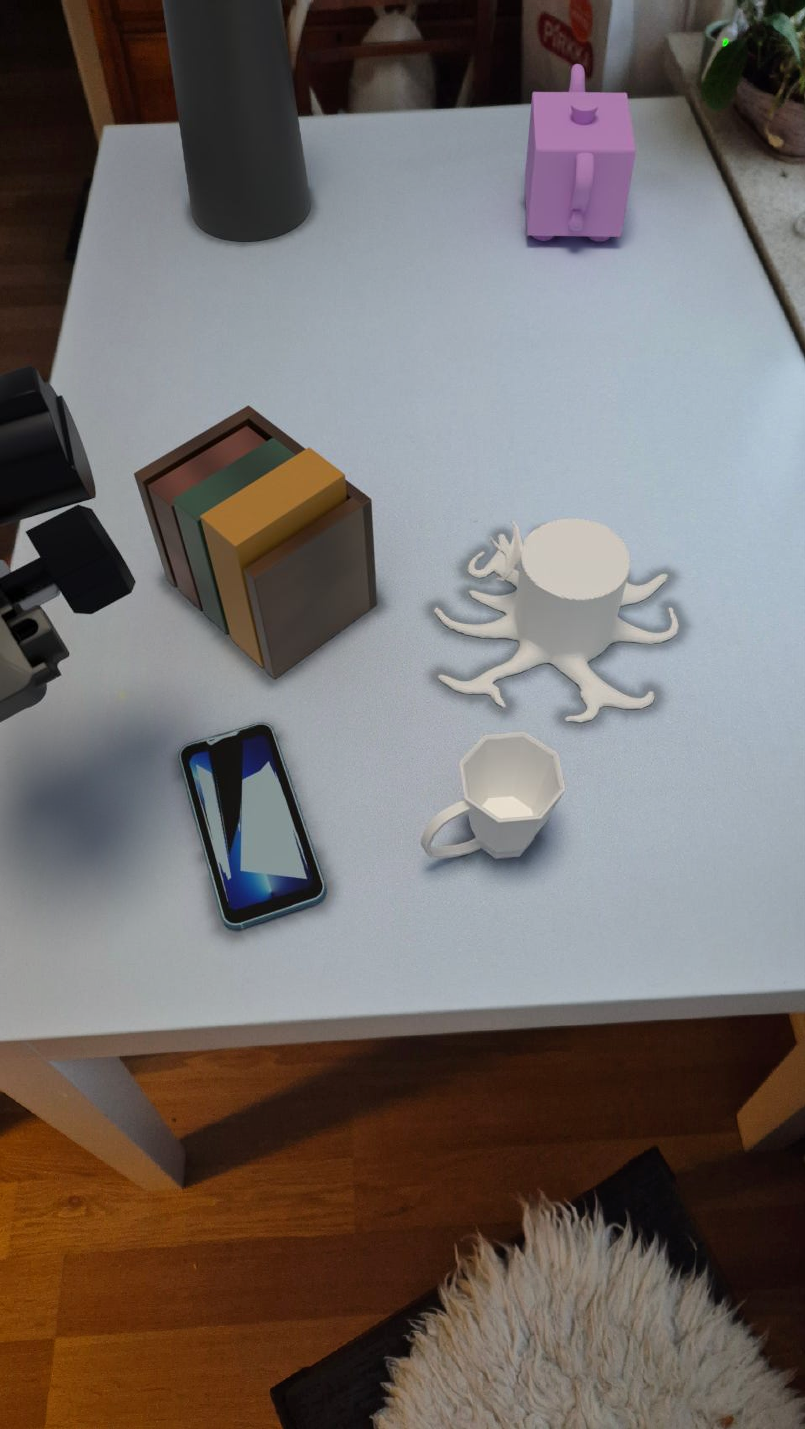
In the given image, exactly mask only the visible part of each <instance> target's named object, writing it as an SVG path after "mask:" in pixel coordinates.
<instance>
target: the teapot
mask: <svg viewBox="0 0 805 1429" xmlns="http://www.w3.org/2000/svg"><path fill="white" fill-rule="evenodd" d="M585 74H586V72H585V68H584V66H583V65H582V64H580V63H575V64H573V65H572V67H571V71H570V82H569V89H568V91H532V93H531V104H530V114H529V125H528V137H527V138H528V139H527V148H526V160H525V171H524V188H525V191H524V193H525V215H526V235H527V236H532V237H533V238H534V239H535V240H537V241H543V242H546V241H550V240H552V239H554V237H588V239H589V240H591V241H594V242H597V243H598V242H605V241H608V240H609V239H610V238H611V237H612V238H613V237H614V238H621V237H622V234H623V227H624V221H625V217H626V211H627V204H628V198H629V193H630V188H631V182H632V176H633V170H634V166H635V159H636V154H637V150H636V144H635V137H634V130H633V122H632V117H631V111H630V104H629V99H628V93H627V92H598V91H597V92H595V91H594V92H592V91H586V75H585Z"/></svg>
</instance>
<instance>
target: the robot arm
mask: <svg viewBox="0 0 805 1429" xmlns="http://www.w3.org/2000/svg"><path fill="white" fill-rule="evenodd" d="M91 468H92V467H91V465H90V461H89V458H88V454H87V452H86V449H85V446H84V443H83V441H82V438H81V436H80V432H79V429H78V427H77V425H76V422H75V420H74V417H73V416H72V413H71V411H70V409H69V406H68V404H67V403H66V400H65V398H64V396H63V395H62V394H61V395H58V394H57V392H56V391H55V389H54V387H53V386H52V385H51V383H50V382H48V381H45V382H44V380H43V378H42V376H41V374H40V372H39V370H38V369H37V367H35V366H33V365H28V366H23V367H19V368H16V369H13V370H10V371H7V372H4V373H2V374H1V375H0V527H2V526H6V525H8V524H12V523H16V522H20V521H22V520H25V519H29V518H33V517H36V516H39V515H42V514H46V513H49V512H52V511H57V510H60V509H63V508H66V507H69V506H70V507H71V506H72V505H74V506H72V507H71V508H68V509H66V510H64V511H63V512H61V513H58V514H57V515H55V516H52V517H50V518H49V519H47V520H45V521H43V522H41V523H39V524H38V525H36V526H33V527H31V528H30V529H29V528H28V530H25V534H26V536H27V537H28V539H29V541H30V542H31V544H32V546H33V547H34V549H35V551H36V553H37V554H38V556H39V557H38V558H36V559H33V560H32V561H30V562H28V563H26V564H23V565H22V566H20V567H18V568H16V569H14V570H13V571H11V569H10V568H9V567H10V566H8V563H6V561H5V560H3V559H0V723H3V722H4V721H6V720H8V719H9V718H11V717H13V716H15V715H16V714H19V713H20V712H23V711H24V710H26V709H29V708H31V707H34V706H35V705H38V704H39V703H40V702H41V701H42V700H43V699H44V698H45V696H46V694H47V691H48V684H49V683H50V682H52V681H54V680H56V679H57V678H59V677H61V676H62V673H61V671H60V669H59V663H60V662H62V661H64V660H66V659H68V658H69V657H70V655H71V652H70V651H69V649H68V647H67V645H66V643H65V642H64V641H63V639H62V637H61V635H60V634H59V632H58V631H57V629H56V627H55V626H54V624H53V622H52V620H51V619H50V617H49V616H48V615H47V612H46V611H45V610H44V609H43V607H42V605H44V604H46V603H48V602H50V601H51V600H54V599H55V598H57V597H59V596H60V595H62V596H63V598H64V600H65V602H66V603H67V605H68V606H69V607H70V609H71V610H72V612H73V614H77V615H78V614H80V615H93V614H95V613H97V612H99V611H101V610H102V609H104V608H106V607H108V606H110V605H111V604H113V603H115V602H117V601H119V600H121V599H123V598H125V597H127V596H128V595H130V594H132V592H133V590H134V587H135V586H136V583H137V581H136V579H135V577H134V575H133V573H132V571H131V570H130V568H129V565H128V564H127V562H126V561H125V559H124V558H123V555H122V553H121V552H120V550H119V549H118V547H117V546H116V544H115V542H114V541H113V539H112V537H111V536H110V535H109V534H108V532H107V530H106V529H105V527H104V525H103V524H102V522H101V521H100V519H99V518H98V516H97V515H96V512H95V511H94V510H93V509H92V507H91V508H90V507H87V506H84V505H81V504H80V503H84V502H86V501H90V500H93V499H96V498H97V497H96V496H97V490H96V483H95V479H94V476H93V475H94V474H93V472H92V469H91Z"/></svg>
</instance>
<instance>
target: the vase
mask: <svg viewBox="0 0 805 1429" xmlns="http://www.w3.org/2000/svg"><path fill="white" fill-rule="evenodd" d="M161 1H162V2H161V3H162V8H163V15H164V16H163V18H164V23H165V32H166V37H167V38H166V39H167V46H168V52H169V61H170V67H171V73H172V74H171V75H172V82H173V89H174V96H175V98H174V99H175V103H176V104H175V105H176V111H177V117H178V127H179V133H180V141H181V148H182V155H183V163H184V170H185V174H186V175H185V176H186V184H187V191H188V196H189V205H190V206H189V207H190V211H191V216H192V219H193V221H194V222H195V224H196V225H197V226H198V227H199V228H200V229H201V230H202V231H203V232H204V233H205V232H206V233H207V234H208V235H211V236H213V237H216V238H219V239H222V240H226V241H235V242H258V241H264V240H269V239H273V238H276V237H279V236H282V235H284V234H286V233H289V232H290V231H292V230H294V229H296V228H297V227H298V226H299V225H301V224H302V222H304V221H305V220H306V218H307V216H308V215H309V213H310V209H311V196H310V194H311V193H310V189H309V180H308V175H307V166H306V161H305V154H304V146H303V141H302V134H301V133H302V132H301V127H300V120H299V112H298V106H297V100H296V99H297V98H296V93H295V86H294V81H293V71H292V67H291V59H290V54H289V46H288V41H287V40H288V39H287V32H286V25H285V19H284V13H283V6H282V0H161Z"/></svg>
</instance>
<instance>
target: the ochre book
mask: <svg viewBox="0 0 805 1429" xmlns="http://www.w3.org/2000/svg"><path fill="white" fill-rule="evenodd" d="M345 479H346V474H345V473H344V472H343V471H341V470H340V469H339V468H337V467H336V466H335V465H334V464H332V463H331V462H329V461H328V460H327V459H326V458H324V457H323V456H322V455H320V454H319V453H318V452H316V451H315V450H314V449H313V448H311V447H310V446H309V447H307V448H305V450H304V451H302V452H300V453H299V454H297V455H296V456H294V457H293V458H291V459H289V460H288V461H286V462H285V463H283V464H282V465H280V466H278V467H277V468H275V469H274V470H272V471H270V472H269V473H267V474H266V475H264V476H263V477H261V478H259V479H258V480H256V481H255V482H253V483H251V484H250V485H248V486H247V487H245V488H244V489H242V490H240V491H239V492H237V493H236V494H234V495H232V496H231V497H229V498H228V499H226V500H225V501H223V502H221V503H220V504H218V505H217V506H215V507H213V508H212V509H210V510H209V511H207V512H206V513H204V514H202V515H201V516H200V518H201V522H202V526H203V530H204V534H205V538H206V542H207V546H208V550H209V553H210V557H211V561H212V565H213V569H214V573H215V577H216V581H217V585H218V589H219V593H220V596H221V600H222V604H223V608H224V612H225V616H226V620H227V624H228V628H229V635H230V636H229V637H230V640H231V641H232V642H234V643H235V644H236V645H237V646H238V647H239V648H240V649H241V650H242V651H244V653H245V654H246V655H248V657H250V658H251V659H252V660H253V661H254V662H255V663H257V665H259V666H260V667H261V668H264V667H265V666H264V661H263V657H262V652H261V647H260V643H259V638H258V634H257V629H256V624H255V620H254V615H253V611H252V606H251V601H250V597H249V592H248V588H247V583H246V578H245V574H244V569H245V568H247V567H248V566H250V565H251V564H253V563H254V562H256V561H257V560H259V559H260V558H262V557H263V556H265V555H266V554H268V553H269V552H271V551H272V550H274V549H275V548H277V547H278V546H280V545H281V544H283V543H284V542H286V541H287V540H289V539H290V538H292V537H293V536H295V535H296V534H298V533H299V532H301V531H302V530H304V529H305V528H307V527H308V526H310V525H311V524H313V523H314V522H316V521H317V520H319V519H320V518H322V517H323V516H325V515H326V514H328V513H329V512H331V511H332V510H334V509H335V508H337V507H338V506H339V505H341V504H342V503H344V502H345V501H347V494H346V482H345Z"/></svg>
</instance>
